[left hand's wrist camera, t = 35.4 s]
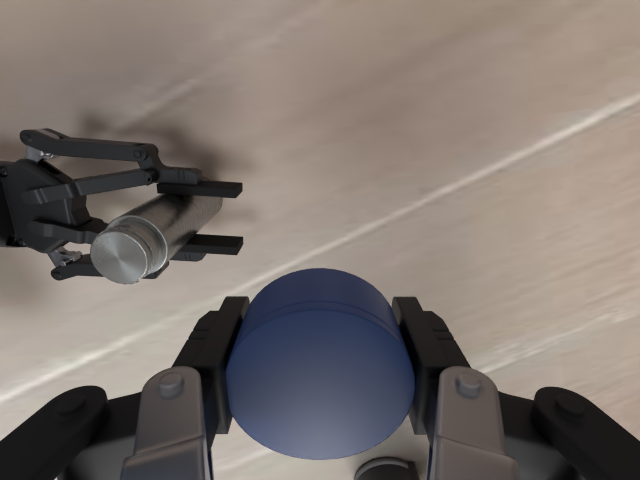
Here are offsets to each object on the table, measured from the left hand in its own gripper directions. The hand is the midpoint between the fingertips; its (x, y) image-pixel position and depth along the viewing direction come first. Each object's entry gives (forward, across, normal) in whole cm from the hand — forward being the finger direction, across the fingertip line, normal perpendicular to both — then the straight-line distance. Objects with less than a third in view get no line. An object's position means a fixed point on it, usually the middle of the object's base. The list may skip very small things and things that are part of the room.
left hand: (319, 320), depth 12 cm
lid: (-3, 0, 0) cm, 3 cm away
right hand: (+20, +7, +2) cm, 21 cm away
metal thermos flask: (+26, +13, +2) cm, 29 cm away
